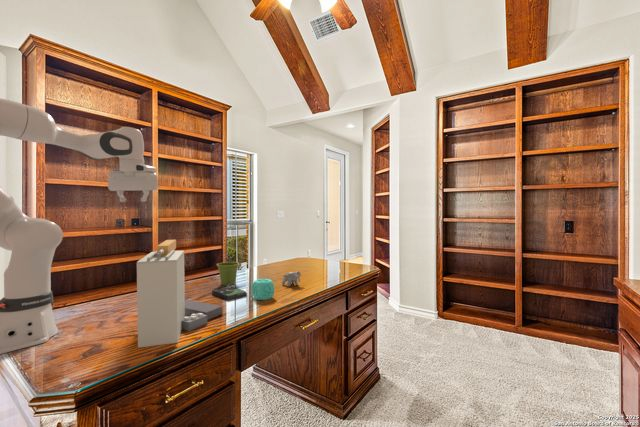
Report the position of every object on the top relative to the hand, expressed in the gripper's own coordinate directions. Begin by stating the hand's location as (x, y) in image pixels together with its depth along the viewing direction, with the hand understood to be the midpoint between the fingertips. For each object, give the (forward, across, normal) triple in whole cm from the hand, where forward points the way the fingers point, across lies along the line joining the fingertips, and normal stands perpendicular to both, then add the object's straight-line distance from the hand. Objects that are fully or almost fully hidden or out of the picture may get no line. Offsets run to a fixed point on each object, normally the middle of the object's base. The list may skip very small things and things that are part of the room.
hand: (133, 201), depth 128 cm
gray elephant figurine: (+46, +57, +45) cm, 86 cm away
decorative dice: (+45, +48, +22) cm, 69 cm away
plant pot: (+46, +20, +44) cm, 67 cm away
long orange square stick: (+19, +24, -16) cm, 35 cm away
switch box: (+45, +34, -15) cm, 58 cm away
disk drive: (+46, +30, +24) cm, 60 cm away
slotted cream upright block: (+44, +26, -20) cm, 56 cm away
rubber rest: (+45, +28, -2) cm, 53 cm away
